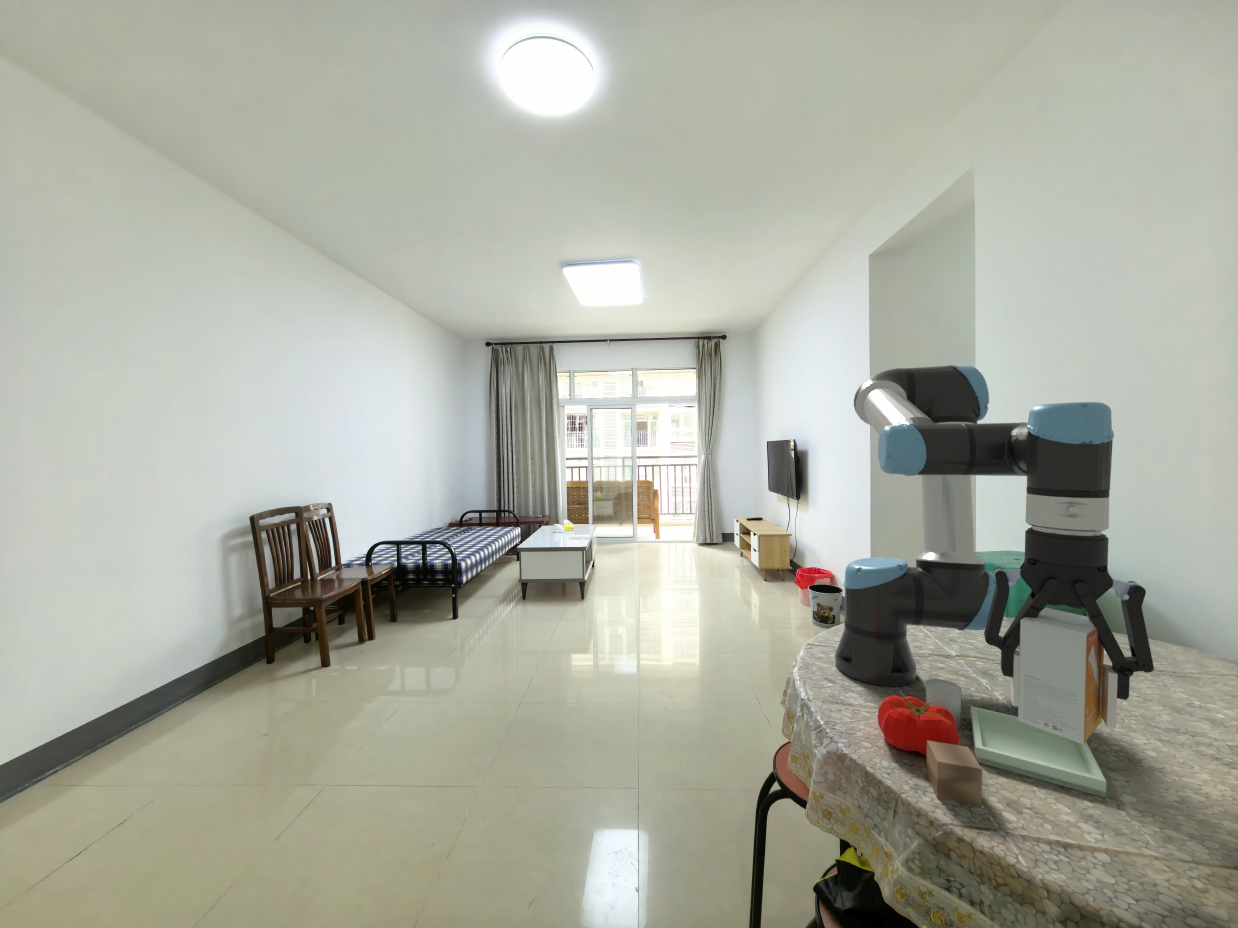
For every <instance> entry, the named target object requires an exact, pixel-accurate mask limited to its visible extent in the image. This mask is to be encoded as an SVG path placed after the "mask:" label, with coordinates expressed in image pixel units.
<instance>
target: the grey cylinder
mask: <svg viewBox="0 0 1238 928" xmlns="http://www.w3.org/2000/svg"><path fill="white" fill-rule="evenodd" d="M925 681H926V682H925V684H926V685H925V703H932V704H929V706H941V707H943V708H945V709H946V710H947V711H949V712H950V713H951V714H952V716H953V718H954V720H955V722H956V729H957V728H960V727H961V725H962V722H961V721H962V719H961V717H962V688H961V687H960V686H959V685H958V684H957V683H955V682H952V681H949V680H947V679H946V680H945V679H941V678H929V679H926V680H925ZM933 702H934V703H933Z"/></svg>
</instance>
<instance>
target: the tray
mask: <svg viewBox="0 0 1238 928" xmlns="http://www.w3.org/2000/svg"><path fill="white" fill-rule="evenodd" d="M970 724H971V731H972V732H971V734H972V741H973V750H974V757H975V759H976V760H977V762H978V764H979V763H980V764H983V765H986V766H990V767H994V768H997V769H1001V770H1005V771H1007V772H1011V773H1015V774H1018V775H1022V776H1025V777H1030V778H1032V779H1037V780H1040V781H1043V782H1047V783H1052V784H1055V785H1057V786H1062V787H1065V788H1067V789H1068V788H1069V789H1072V790H1076V791H1080V792H1082V793H1086V794H1087V793H1088V794H1089V795H1093V796H1097V797H1102V798H1105V799H1106V798H1107V780H1106V778H1105V776H1104V774H1103V772H1102V771H1101V768H1100V766H1099V765H1098V762H1097V760H1096V758H1095V757H1094V755H1093V752H1092V750H1091V749H1090V747H1089V745H1088V743H1087V741H1086V743H1085V744H1081V743H1078V742H1075V741H1072V740H1070V739H1067V738H1064V737H1061V736H1058V735H1056V734H1053V733H1050V732H1047V731H1045V730H1042V729H1039V728H1037V727H1034V726H1031V725H1028V724H1026V723H1023V722H1021V721H1019V720H1018V716H1017V715H1013V714H1009V713H1008V714H1007V713H1003V712H1000V711H999V712H998V711H995V710H994V711H993V710H990V709H985V708H982V707H977V706H973V705H972V706H971V705H970Z"/></svg>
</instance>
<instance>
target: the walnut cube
mask: <svg viewBox="0 0 1238 928" xmlns="http://www.w3.org/2000/svg"><path fill="white" fill-rule="evenodd" d="M925 771H926V776H927V779H928V781H929V783H930V785H931V789H932V790H933V792H934V795H935V797H936V798H937V799H941V800H942V799H943V800H947V801H952V800H953V801H952V802H958V803H963V804H967V805H972V806H973V805H974V806H978V807H982V795H983V794H982V792H983V791H982V788H983V787H982V785H983V784H982V783H983V782H982V780H983V768H982V766H981V765H980V764H979V762H977V760H976V759H975V755H974V754H973V752H972V751H971V750H970V748H969V747H968V746H964V745H960V744H958V745H953V744H947V743H940V742H934V741H928V740H927V756H926V770H925Z"/></svg>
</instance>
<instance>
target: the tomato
mask: <svg viewBox="0 0 1238 928" xmlns="http://www.w3.org/2000/svg"><path fill="white" fill-rule="evenodd" d="M933 703H934V702H933ZM929 704H932V703H926V701H923V700H921V699H919V698H917V697H914V696H905V697H903V695H902V696H898V695H897V694H894V695H890V696H887V697H885V698H884V699H883V700H882V702H881V704H880V705H879V708H878V711H877V721H878V722H877V723H878V726H879V729H880V730H881V733H882V735H883V737H884V739H885V741H886V742H887V743H888V744H890V745H891V746H893V747H896V748H897V749H900V750H902V751H905V752H918V753H920V754H922V755H924V756H926V757H927V740H928V741H934V742H940V743H947V744H953V745H960V734H959V732H958V729H957V728H956V722H955V720H954V718H953V716H952V714H951V713H950V712H949V711H947V710H946V709H945V708H943V707H941V706H929Z"/></svg>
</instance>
